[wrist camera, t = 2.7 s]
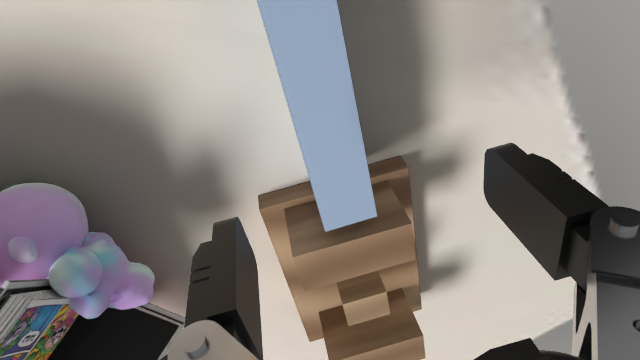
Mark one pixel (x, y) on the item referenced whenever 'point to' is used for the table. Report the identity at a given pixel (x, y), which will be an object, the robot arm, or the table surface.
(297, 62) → the frame bar
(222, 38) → the table surface
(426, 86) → the table surface
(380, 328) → the stand
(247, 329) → the robot arm
